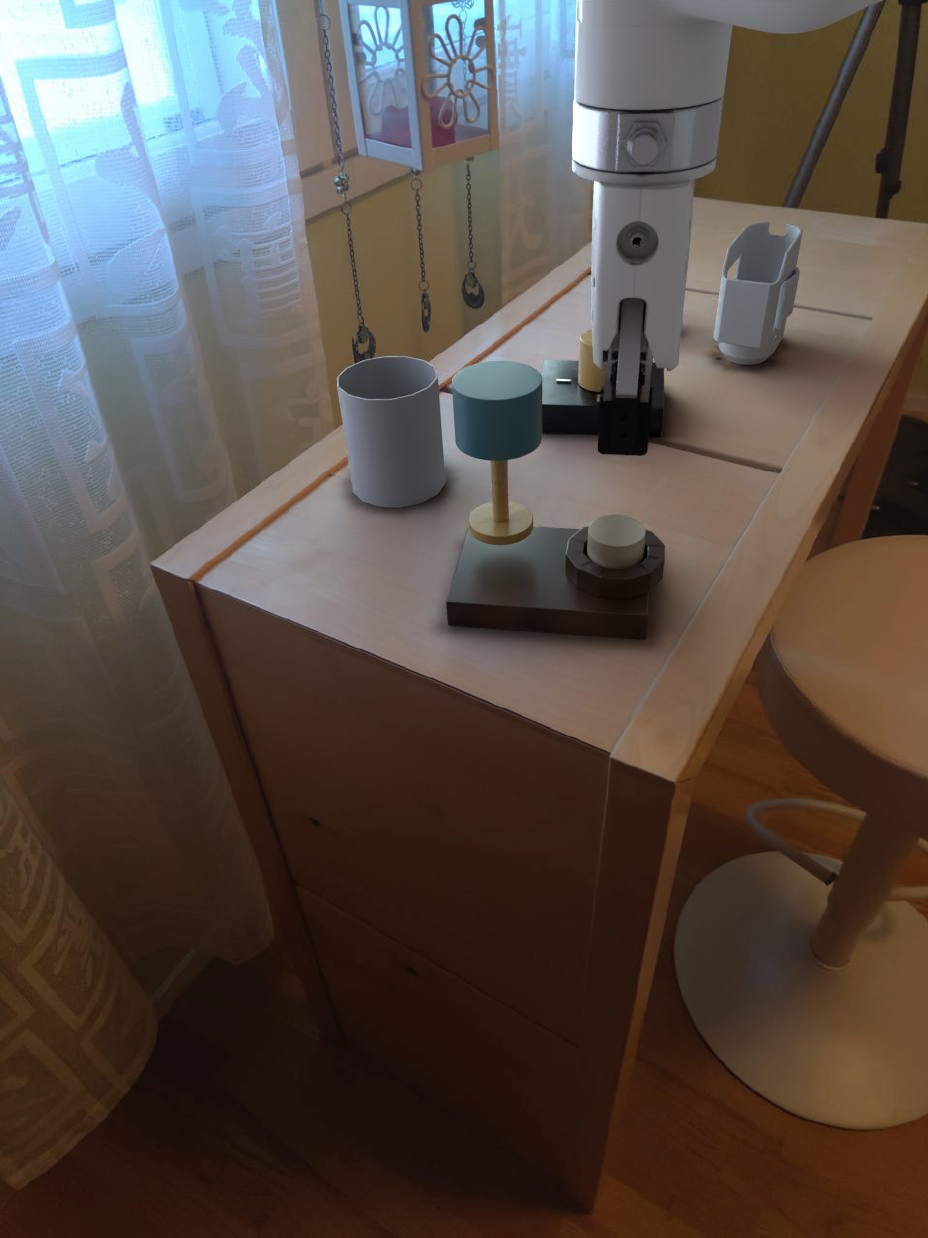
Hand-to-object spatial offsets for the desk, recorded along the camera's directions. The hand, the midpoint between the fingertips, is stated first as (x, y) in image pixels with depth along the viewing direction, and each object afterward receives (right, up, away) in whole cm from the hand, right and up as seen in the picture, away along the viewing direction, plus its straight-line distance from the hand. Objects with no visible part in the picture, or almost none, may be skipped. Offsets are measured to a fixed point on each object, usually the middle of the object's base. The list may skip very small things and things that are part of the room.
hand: (622, 448), depth 58 cm
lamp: (-8, -4, +8) cm, 12 cm away
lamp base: (-4, -9, +8) cm, 13 cm away
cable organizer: (+20, +17, +38) cm, 46 cm away
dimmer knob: (+3, +12, +28) cm, 30 cm away
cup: (-16, +1, +22) cm, 27 cm away
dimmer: (+3, +9, +30) cm, 32 cm away
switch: (0, -7, +5) cm, 8 cm away
